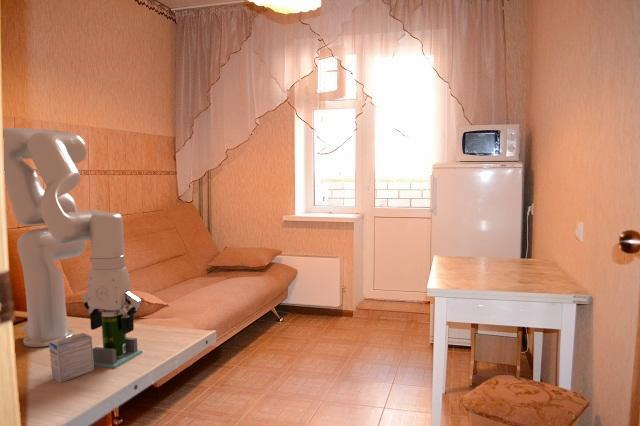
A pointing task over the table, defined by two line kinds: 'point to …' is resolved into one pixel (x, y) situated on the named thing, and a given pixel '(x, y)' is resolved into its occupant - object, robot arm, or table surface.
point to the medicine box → (71, 357)
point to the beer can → (113, 332)
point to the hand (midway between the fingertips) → (112, 329)
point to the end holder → (108, 355)
